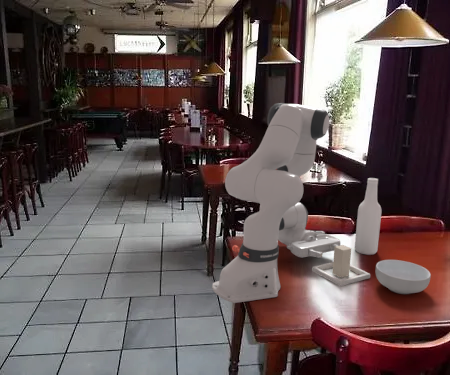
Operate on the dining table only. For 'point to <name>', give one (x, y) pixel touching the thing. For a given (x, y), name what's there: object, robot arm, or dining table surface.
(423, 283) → the cereal bowl
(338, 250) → the stone block
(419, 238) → the dining table surface
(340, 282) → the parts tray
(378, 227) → the alcohol
